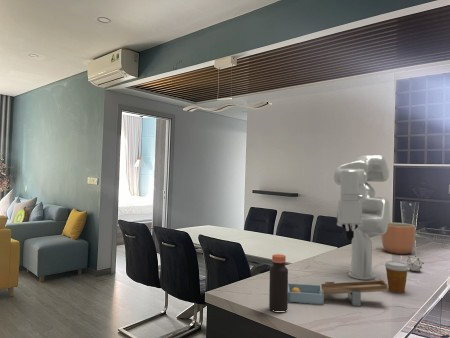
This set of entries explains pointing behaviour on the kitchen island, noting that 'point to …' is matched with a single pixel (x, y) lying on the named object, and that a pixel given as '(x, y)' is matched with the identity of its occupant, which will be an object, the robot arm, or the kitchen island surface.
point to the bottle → (278, 284)
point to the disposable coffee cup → (396, 276)
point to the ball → (296, 290)
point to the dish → (305, 294)
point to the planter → (399, 238)
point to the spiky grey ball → (414, 264)
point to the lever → (354, 287)
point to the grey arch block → (355, 298)
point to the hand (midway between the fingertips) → (349, 239)
